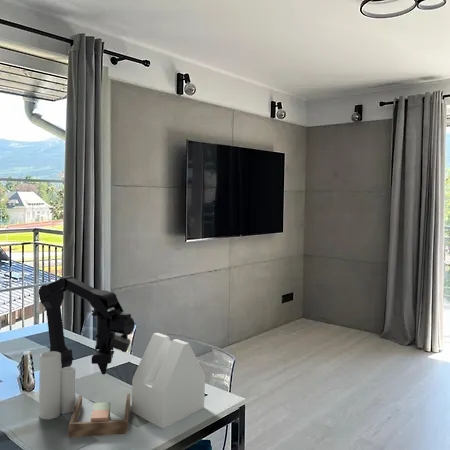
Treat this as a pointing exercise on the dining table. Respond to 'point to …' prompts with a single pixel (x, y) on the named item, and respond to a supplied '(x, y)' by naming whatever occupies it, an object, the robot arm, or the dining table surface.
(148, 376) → the white slotted block
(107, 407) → the sage block
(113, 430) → the box
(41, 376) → the white tubes
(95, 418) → the terracotta block
